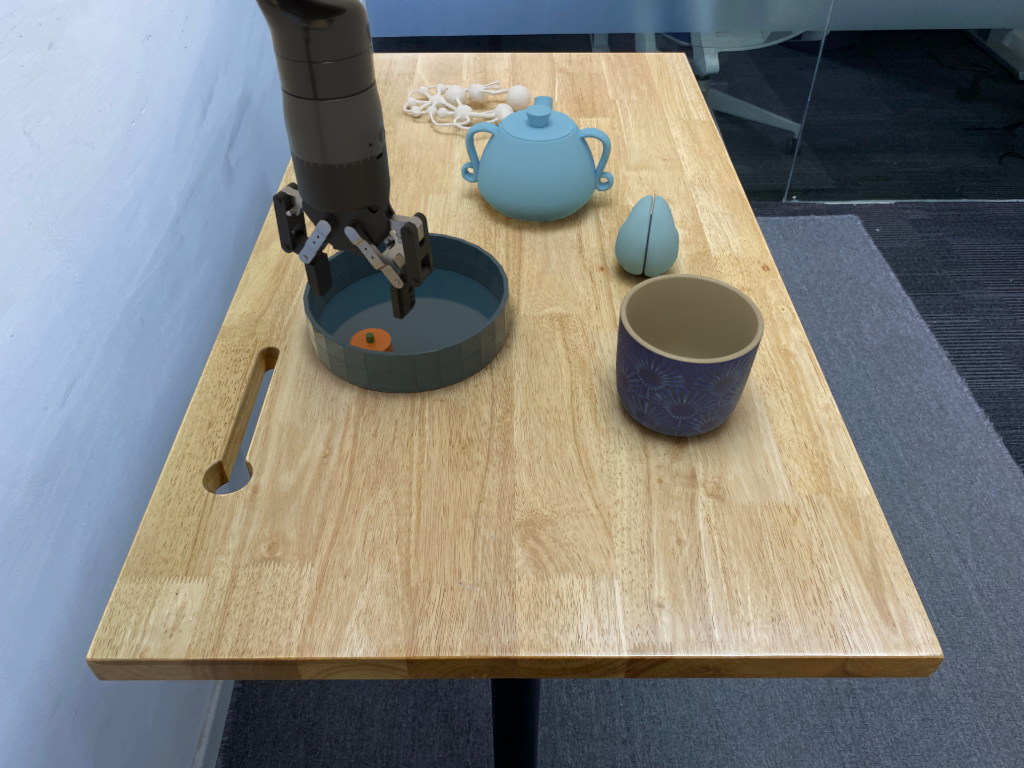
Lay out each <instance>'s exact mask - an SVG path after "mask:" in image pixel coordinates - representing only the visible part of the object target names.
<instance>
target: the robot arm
mask: <svg viewBox="0 0 1024 768" xmlns="http://www.w3.org/2000/svg"><path fill="white" fill-rule="evenodd" d="M255 2H256V5H257V6H258V9H259V10H260V12H261V14H262V16H263V19H264V21H265V22H266V25H267V27H268V29H269V34H270V37H271V44H272V48H273V53H274V59H275V63H276V68H277V73H278V78H279V79H278V80H279V83H280V89H281V96H282V113H283V120H284V125H285V131H286V136H287V141H288V145H289V151H290V156H291V161H292V166H293V171H294V175H295V180H296V182H294V181H291V182H289V183H288V184H287V185H285V186H284V187H283V188H282V189H280V190H279V191H278V192H276V194H273V196H272V201H273V202H272V204H273V208H274V209H273V210H274V214H275V219H276V220H275V221H276V226H277V231H278V237H279V243H280V248H281V249H282V250H283V252H284V253H286V254H291V253H294V254H296V255H298V258H299V260H300V261H301V262H302V263H303V266H304V269H305V274H306V278H307V282H308V284H309V285H310V287H311V288H312V289H313V293H314V295H317V296H321V297H323V296H324V295H325V294H326V293H327V292H328V291H329V290H330V289H331V287H332V284H333V282H332V277H331V271H330V266H329V260H328V258H329V255H328V252H323V251H324V250H325V249H326V247H327V246H328V245H331V246H332V249H333V250H336V251H350V252H352V253H354V254H356V255H359V256H363V257H364V256H365V257H366V258H367V259H368V261H369V262H370V263H371V264H372V266H373V267H374V268H375V269H377V270H381V271H382V272H383V273H384V274H385V276H386V277H387V278H388V280H389V281H390V282H391V284H392V285H391V286H390V292H391V300H392V308H393V316H394V318H398V319H403V318H404V317H405V316H406V315H408V313H409V312H410V311H411V310H412V309H413V307H414V306H415V303H416V300H415V290H414V287H416V288H417V287H420V286H421V284H422V283H423V281H424V280H425V279H426V278H427V277H428V276H429V275H430V274H431V273H432V272H433V270H434V267H433V260H432V253H431V246H430V239H429V233H430V232H429V225H428V224H429V223H428V218H427V217H426V215H425V214H424V212H423V213H422V212H420V211H419V212H415V213H414V214H413V215H412V216H407V215H401V214H396V211H395V210H394V208H393V206H392V204H391V200H390V196H391V195H390V194H391V175H390V165H389V156H388V149H387V139H386V138H387V137H386V128H385V121H384V113H383V112H384V111H383V107H382V106H383V105H382V100H381V97H380V94H379V89H378V85H377V79H376V70H375V61H374V53H373V44H372V37H371V35H372V34H371V29H370V20H369V16H368V12H367V9H366V7H365V6H364V4H363V3H362V1H361V0H255ZM305 216H307V217H308V219H309V221H310V222H311V223H312V224H313V226H314V229H313V231H312V232H311V234H310V235H309V236H308V231H307V224H306V218H305ZM395 233H397V235H398V237H397V235H396V234H395ZM383 241H384V242H385V244H386V246H387V248H386V250H385V251H384V252H383V253H382V254H381V253H380V252H379V251H378V249H377V248H378V247H379V246H380V244H381V243H382V242H383ZM392 260H394V261H395V263H396V264H397V265H398V267H399V268H400V269H399V270H398V269H397V268H396V267H395V265H394V264H393V262H392Z"/></svg>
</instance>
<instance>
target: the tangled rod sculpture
mask: <svg viewBox="0 0 1024 768" xmlns="http://www.w3.org/2000/svg"><path fill="white" fill-rule="evenodd" d="M500 84H501V80H499V79H497V80H496V81H493V82H490V83H487V84H481V83H476V82H475V83H473V84H471V85H469V87H463V86H462V85H459V84H453V85H450V84H444V83H438V84H434V85H430V86H425V85H421V86H420V87H419V88H416V89H413V90H411V91H410V92H409V93H408V95H407V99H406V100H405V103H404V105H403V107H402V110H403V112H404V113H409V114H411V116H412V117H414V118H419V117H420V116H421V115H427V116H428V117H429V119H430V120H431V123H432V124H433V125H434V126H435V127H439V128H445V127H447V128H448V127H449V128H450V127H457V128H459V129H460V130H464V131H468V130H469V129H470V128H471V127H472V126H469V125H470V124H471V123H472V122H473V120H474V118H476V119H489V120H487V121H486V122H489V123H492V124H496V125H497V126H498V125H499V124H500V123H501V122H502V120H503V119H504V118H505V117H507V116H508V115H510V114H511V113H514V112H516V111H520V110H525V109H526V108H527V107H529V106H530V104H531V99H532V96H531V93H530V90H529V89H528V88H527V87H526V86H524V85H521V84H515V85H513V86H511V87H506V88H501V89H500V86H499V85H500ZM432 89H435V92H436V94H432V95H431V94H430V90H432ZM491 89H493V90H491ZM494 89H495V90H494ZM415 93H418V95H419V96H420V97H421V98H427V99H428V100H421V99H416V98H415V97H413V96H412V95H413V94H415ZM467 94H468V97H469V99H470V100H471V101H473V102H475V103H480V102H482V101H485V99H486V98H487V97H488V95H489V96H500V95H505V94H506V95H505V96H506V97H505V99H506V102H507V103H504V102H503V103H499V104H497V105H496V106H495V107H494V109H489V110H487V111H482V112H476V111H473V109H472V108H471V106H469V105H467V104H465V103H466V101H467V98H468V97H467ZM443 95H444V96H443ZM418 105H420V106H418ZM407 107H408V109H407ZM447 108H448V109H450V110H452V111H449V110H448V109H447ZM424 109H426V110H424ZM449 116H450V117H453V118H454V119H453V120H452V122H450V123H449V122H447V123H446V122H445V123H439V122H437V121H436V120H435V119H434V118H436V117H438V119H440V120H446V119H447V118H448V117H449Z"/></svg>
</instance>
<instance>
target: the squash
mask: <svg viewBox="0 0 1024 768" xmlns="http://www.w3.org/2000/svg"><path fill="white" fill-rule="evenodd" d="M350 345H354V346H357V347H360V348H364V349H368V350H376V351H384V352H393V348H392V341H391V337H390V335H389V334H388V333H387V332H386V331H384V330H382V329H377V328H369V329H364V330H361V331H359V332H357V333H356V334H355V335H354V336H353V337H352V338H351V341H350Z"/></svg>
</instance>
